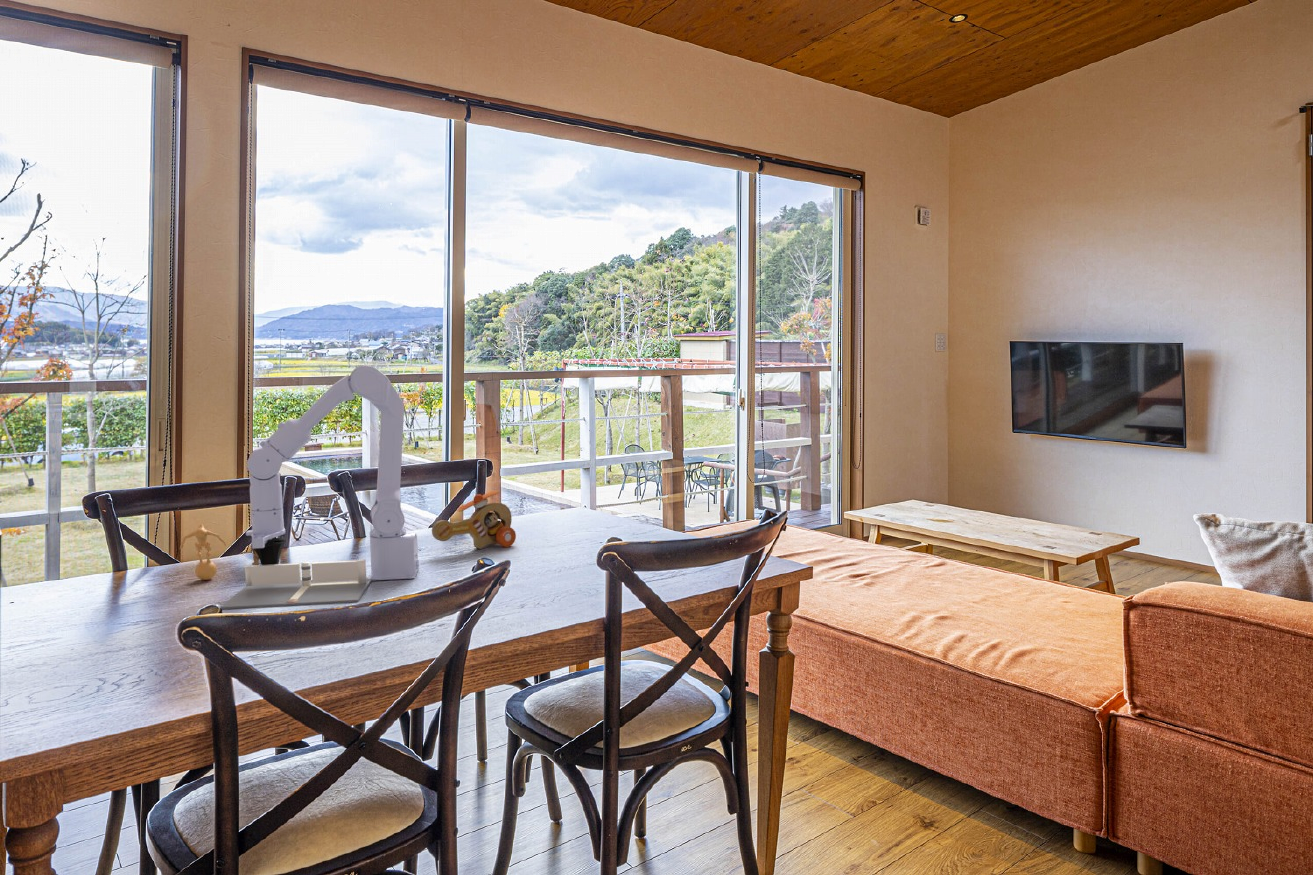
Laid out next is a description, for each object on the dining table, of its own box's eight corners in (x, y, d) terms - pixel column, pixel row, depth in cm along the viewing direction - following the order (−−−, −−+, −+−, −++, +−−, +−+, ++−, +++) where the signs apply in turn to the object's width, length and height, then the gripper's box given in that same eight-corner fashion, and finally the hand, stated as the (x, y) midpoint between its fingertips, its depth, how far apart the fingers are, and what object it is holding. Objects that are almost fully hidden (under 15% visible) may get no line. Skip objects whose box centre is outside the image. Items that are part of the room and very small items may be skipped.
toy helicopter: (520, 544, 199) (519, 489, 197) (443, 560, 184) (441, 500, 183) (501, 539, 205) (499, 485, 203) (425, 554, 190) (423, 495, 189)
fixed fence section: (367, 581, 166) (366, 559, 166) (365, 583, 165) (364, 561, 164) (303, 584, 164) (302, 562, 164) (301, 586, 163) (300, 564, 162)
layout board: (373, 578, 169) (373, 576, 169) (357, 601, 154) (357, 599, 154) (249, 584, 166) (249, 582, 166) (220, 609, 150) (220, 606, 150)
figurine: (230, 575, 173) (226, 519, 172) (226, 582, 168) (222, 524, 166) (185, 579, 170) (182, 522, 169) (179, 586, 165) (175, 528, 163)
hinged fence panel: (301, 581, 164) (300, 562, 164) (299, 583, 163) (298, 564, 162) (247, 584, 162) (246, 565, 162) (244, 586, 161) (243, 567, 160)
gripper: (256, 502, 168) (260, 567, 170) (233, 516, 154) (237, 586, 156) (292, 501, 170) (296, 565, 171) (273, 515, 156) (277, 584, 157)
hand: (270, 575), depth 163 cm, fingers closed
